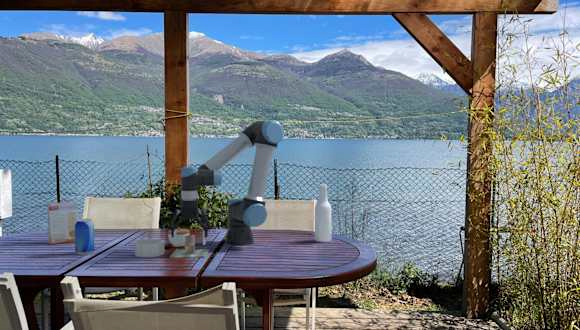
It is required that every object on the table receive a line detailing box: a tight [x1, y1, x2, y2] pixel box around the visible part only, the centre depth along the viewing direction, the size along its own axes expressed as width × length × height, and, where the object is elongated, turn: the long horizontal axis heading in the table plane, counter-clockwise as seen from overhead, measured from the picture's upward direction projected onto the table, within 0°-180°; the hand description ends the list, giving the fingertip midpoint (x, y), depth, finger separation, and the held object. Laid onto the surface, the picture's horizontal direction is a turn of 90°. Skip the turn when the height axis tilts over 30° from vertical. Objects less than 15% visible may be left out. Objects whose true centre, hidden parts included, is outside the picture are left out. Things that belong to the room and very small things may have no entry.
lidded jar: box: [167, 226, 191, 248], centre depth 273 cm, size 11×11×9 cm
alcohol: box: [314, 183, 332, 243], centre depth 284 cm, size 9×9×30 cm
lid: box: [168, 234, 210, 259], centre depth 253 cm, size 16×16×9 cm
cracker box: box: [46, 201, 79, 245], centre depth 281 cm, size 14×6×21 cm, turn 123°
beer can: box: [74, 218, 95, 256], centre depth 254 cm, size 8×8×16 cm
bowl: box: [134, 238, 165, 258], centre depth 253 cm, size 13×13×6 cm
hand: (189, 244), depth 253 cm, fingers open, 13 cm apart
